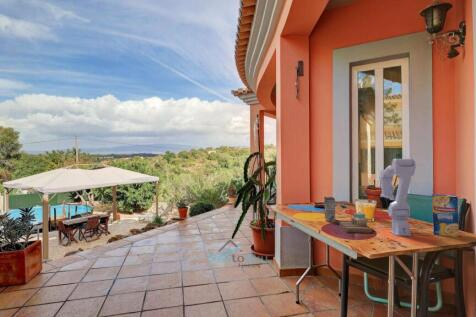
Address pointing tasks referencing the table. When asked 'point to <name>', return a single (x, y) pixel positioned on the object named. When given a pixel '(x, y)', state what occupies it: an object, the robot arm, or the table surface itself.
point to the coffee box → (329, 208)
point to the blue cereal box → (445, 215)
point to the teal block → (359, 215)
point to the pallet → (359, 221)
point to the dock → (354, 227)
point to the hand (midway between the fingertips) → (387, 209)
